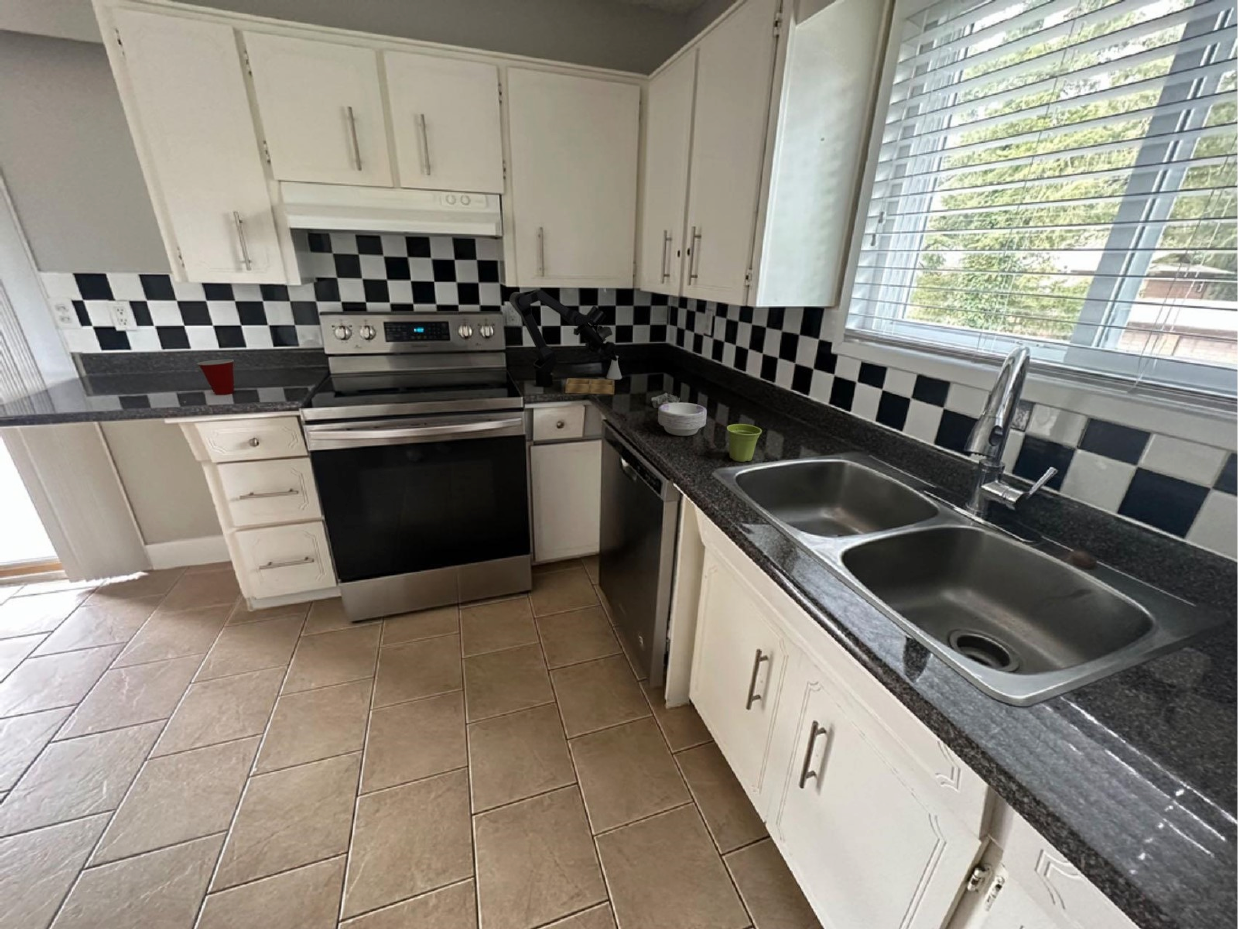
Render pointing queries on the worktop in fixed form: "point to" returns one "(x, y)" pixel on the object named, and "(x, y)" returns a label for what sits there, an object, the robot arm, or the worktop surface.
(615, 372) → the flask
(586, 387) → the wooden divided tray
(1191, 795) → the worktop surface
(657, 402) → the egg carton
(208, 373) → the plastic cup
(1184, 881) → the worktop surface
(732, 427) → the plant pot
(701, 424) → the paper bowls
